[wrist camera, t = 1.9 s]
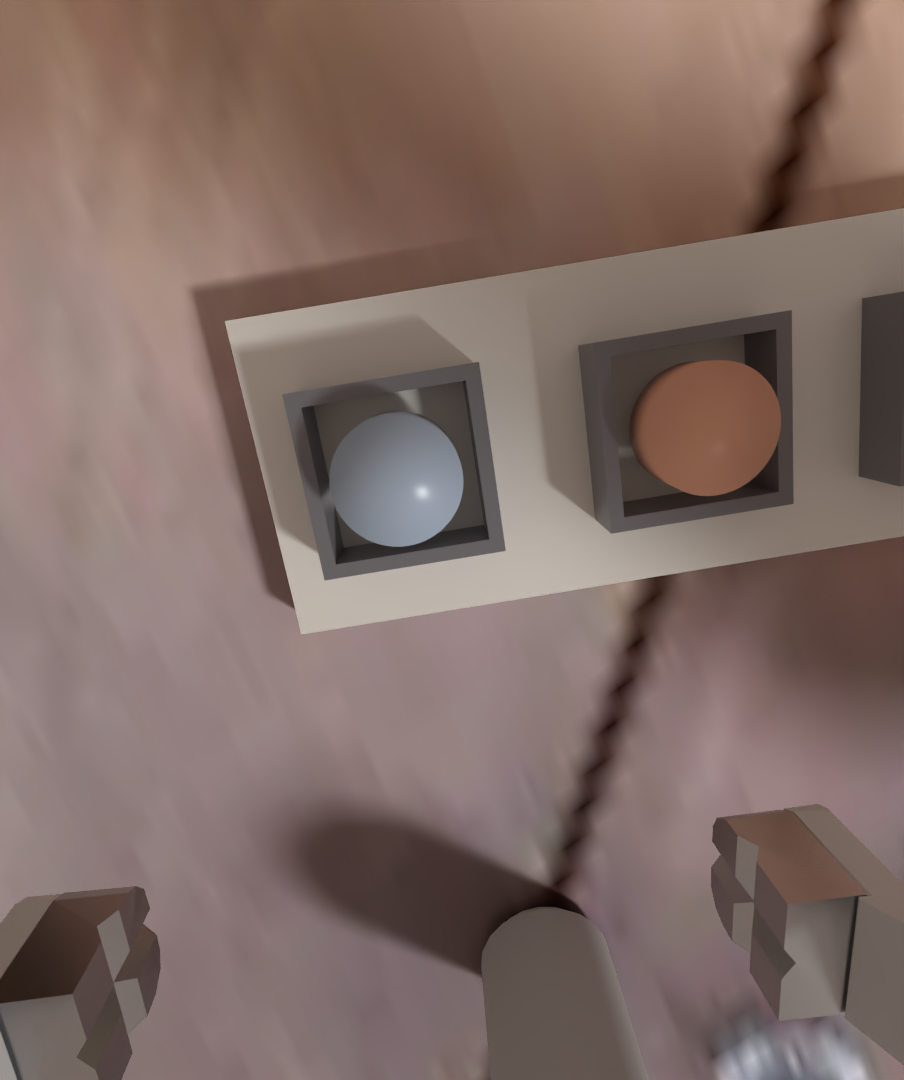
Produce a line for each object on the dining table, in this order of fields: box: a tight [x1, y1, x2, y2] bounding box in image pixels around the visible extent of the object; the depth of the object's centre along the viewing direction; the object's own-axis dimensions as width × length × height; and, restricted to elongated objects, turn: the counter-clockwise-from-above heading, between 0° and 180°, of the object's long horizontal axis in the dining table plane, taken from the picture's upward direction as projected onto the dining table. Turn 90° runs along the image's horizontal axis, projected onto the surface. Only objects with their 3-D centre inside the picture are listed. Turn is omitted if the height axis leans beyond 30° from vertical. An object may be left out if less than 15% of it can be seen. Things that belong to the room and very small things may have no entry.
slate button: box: [329, 411, 463, 547], centre depth 24 cm, size 5×5×2 cm
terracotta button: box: [629, 360, 781, 496], centre depth 24 cm, size 5×5×2 cm
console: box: [225, 208, 904, 634], centre depth 27 cm, size 36×14×4 cm, turn 99°
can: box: [481, 907, 649, 1080], centre depth 31 cm, size 8×8×12 cm
